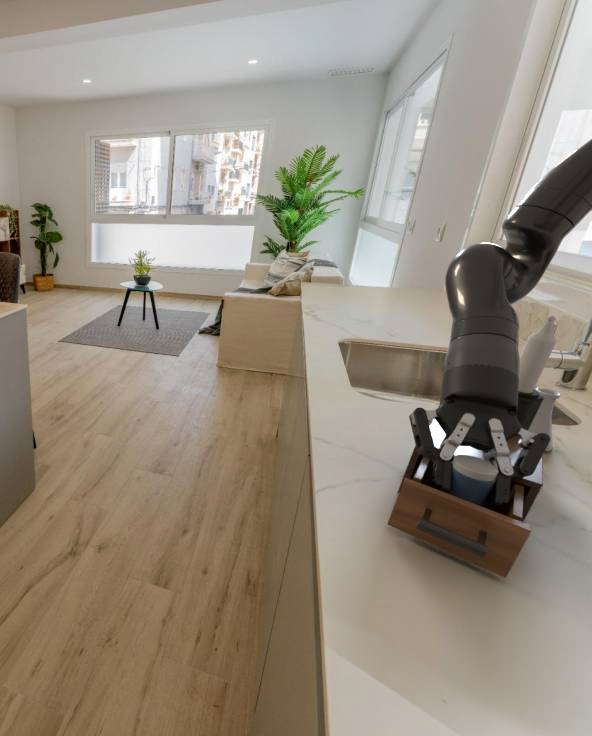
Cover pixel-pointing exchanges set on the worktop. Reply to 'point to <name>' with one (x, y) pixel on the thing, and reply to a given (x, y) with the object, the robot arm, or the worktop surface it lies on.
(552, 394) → the flask
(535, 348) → the candle
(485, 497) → the blue tumbler
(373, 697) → the worktop surface
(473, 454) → the cabinet
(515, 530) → the drawer
